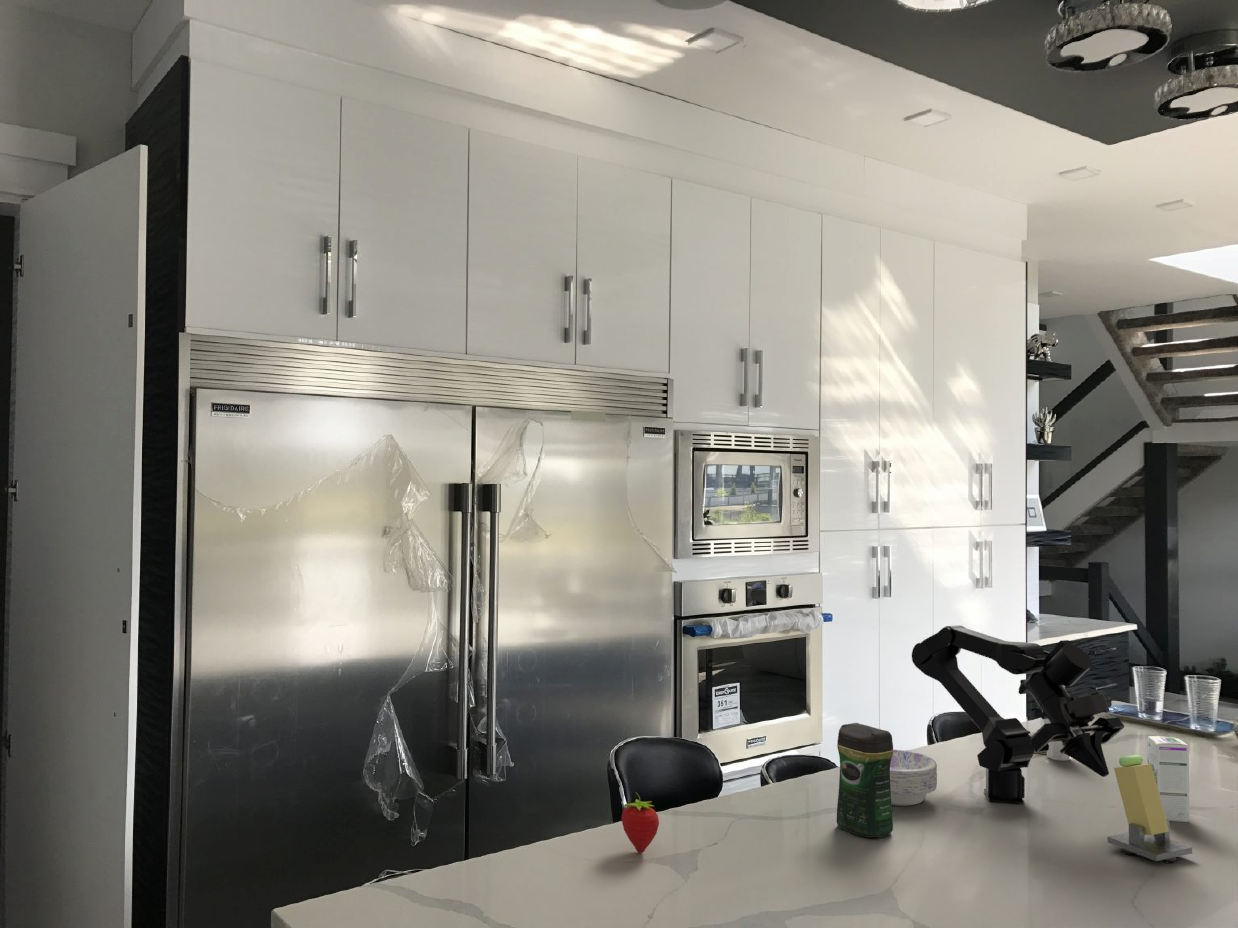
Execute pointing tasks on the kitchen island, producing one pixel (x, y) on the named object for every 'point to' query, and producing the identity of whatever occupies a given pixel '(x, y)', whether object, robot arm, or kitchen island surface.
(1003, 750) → the robot arm
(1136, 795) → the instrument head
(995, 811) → the kitchen island surface
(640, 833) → the strawberry
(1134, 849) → the base
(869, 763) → the coffee jar
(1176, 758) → the syrup box
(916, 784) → the paper bowls
